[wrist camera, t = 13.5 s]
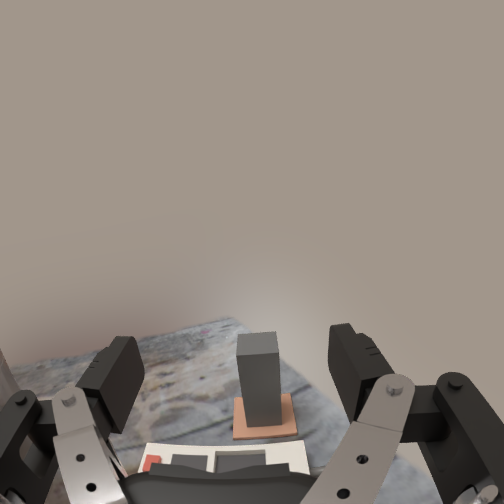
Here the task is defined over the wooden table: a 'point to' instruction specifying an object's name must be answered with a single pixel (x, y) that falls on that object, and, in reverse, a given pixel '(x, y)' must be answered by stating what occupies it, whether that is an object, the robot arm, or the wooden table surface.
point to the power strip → (229, 457)
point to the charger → (260, 378)
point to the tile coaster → (268, 431)
